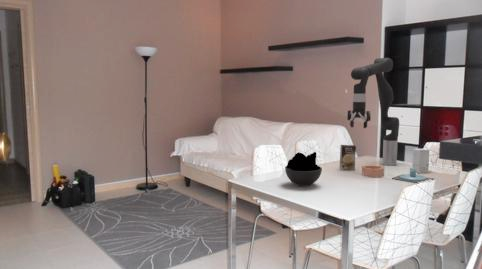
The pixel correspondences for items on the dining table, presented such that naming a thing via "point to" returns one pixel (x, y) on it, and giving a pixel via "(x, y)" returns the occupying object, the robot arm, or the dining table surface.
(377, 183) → the dining table surface
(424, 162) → the skincare box
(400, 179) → the mat
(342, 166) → the coffee box
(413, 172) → the lid
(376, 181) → the dining table surface
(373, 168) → the bowl
